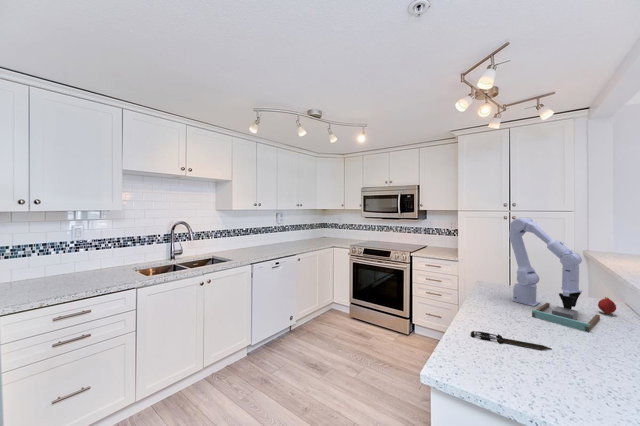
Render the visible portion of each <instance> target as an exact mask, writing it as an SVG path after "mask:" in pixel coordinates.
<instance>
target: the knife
mask: <svg viewBox="0 0 640 426" xmlns="http://www.w3.org/2000/svg"><path fill="white" fill-rule="evenodd" d="M477 333H478V334H480V335H478V334H477ZM470 336H471V337H472V338H475V337H479V338H480V339H479V340H481V341H487V342H492V341H491V340H495V341H496V342H497V343H498V344H499V345H501V344H510V345H514V346H520V347H525V348H529V349H535V350H540V351H543V350H552V348H551V347H548V346H546V345H543V344H539V343H538V344H537V343H532V342H526V341H522V340H521V341H520V340H517V339H511V338H504V337H503V336H502V335H501V334H499V333H497V335H496V334H493V333H489V332H484V331H474V330H472V331H471V332H470ZM490 336H494V337H495V338H494V337H490Z"/></svg>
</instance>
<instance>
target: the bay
mask: <svg viewBox="0 0 640 426" xmlns="http://www.w3.org/2000/svg"><path fill="white" fill-rule="evenodd" d="M550 307H551V305H550V303H549V302H545V303H544V304H542V305H540V306H539V307H538V308H536V309H532V310H531V311H532V312H531V316H532V317H533V318H536V319H540V320H543V321H547V322H552V323H555V324H558V325H561V326H566V327H569V328H573V329H576V330H579V331H584V332H587V333H589V332H591V330H592V329H593V328H594V327H595V326H596V325H597V323H598V322H600V320H601V315H600V314H597V313H596V314H595V315H594V316H592V318H591V319H590V320H589V321H588V322H584V321H580V320H572V319H568V318H564V317H561V316H557V315H553V314H552V313H548V312H545V311H547V309H549V308H550Z"/></svg>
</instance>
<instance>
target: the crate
mask: <svg viewBox="0 0 640 426" xmlns="http://www.w3.org/2000/svg"><path fill="white" fill-rule="evenodd" d="M551 314H553V315H557V316H561V317H564V318H568V319H572V320H576V321H578V318H579V317H578V310H575V309H567V308H564V307H562V306H558V305H557V306H556V307H554V308H553V309H552V310H551Z"/></svg>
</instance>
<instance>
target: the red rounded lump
mask: <svg viewBox="0 0 640 426" xmlns="http://www.w3.org/2000/svg"><path fill="white" fill-rule="evenodd" d="M597 307H598V308H599V309H600V311H602V312H603V313H604V314H605V315H610V314H613V313H615V312H616V310H617V305H616V303H615V302H614V301H613V300H611V299H610V298H609V297H607V296H605V297H604V298H602V299H600V300H599V301H598V303H597Z"/></svg>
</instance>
